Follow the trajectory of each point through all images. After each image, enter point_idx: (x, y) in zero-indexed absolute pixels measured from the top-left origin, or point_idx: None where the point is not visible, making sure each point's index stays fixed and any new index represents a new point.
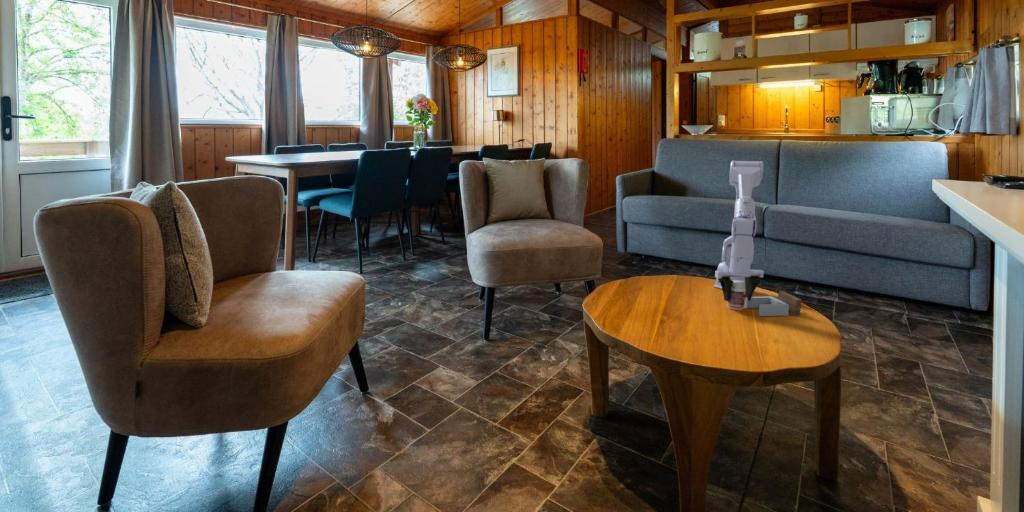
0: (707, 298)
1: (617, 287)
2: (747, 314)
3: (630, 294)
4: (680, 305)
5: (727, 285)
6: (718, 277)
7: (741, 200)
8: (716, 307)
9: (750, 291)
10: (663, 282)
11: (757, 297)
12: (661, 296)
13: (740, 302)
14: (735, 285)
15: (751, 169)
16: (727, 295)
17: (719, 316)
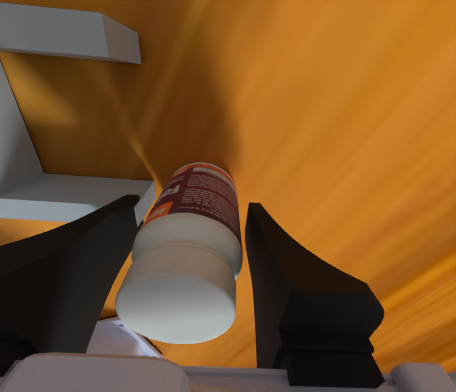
0: (244, 291)
1: None
2: (197, 91)
3: (441, 338)
4: (397, 248)
5: (324, 264)
6: (446, 375)
7: None
8: (280, 210)
9: (104, 222)
10: None
11: (71, 208)
12: None
13: (197, 177)
14: (224, 270)
15: None
16: (273, 219)
17: (370, 85)
